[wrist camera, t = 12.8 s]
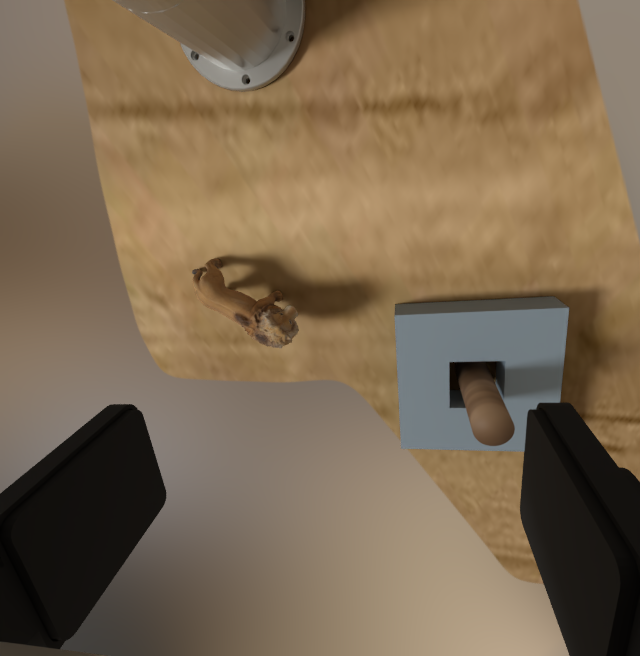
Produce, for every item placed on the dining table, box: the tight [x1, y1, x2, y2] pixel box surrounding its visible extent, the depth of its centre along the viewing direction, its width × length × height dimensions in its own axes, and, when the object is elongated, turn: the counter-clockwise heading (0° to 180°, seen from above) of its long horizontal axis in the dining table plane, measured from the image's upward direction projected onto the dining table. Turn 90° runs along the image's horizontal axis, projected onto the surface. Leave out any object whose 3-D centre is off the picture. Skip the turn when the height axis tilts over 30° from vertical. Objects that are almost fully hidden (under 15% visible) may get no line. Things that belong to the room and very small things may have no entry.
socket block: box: [395, 296, 569, 451], centre depth 44 cm, size 16×16×4 cm
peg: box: [455, 361, 515, 446], centre depth 40 cm, size 3×3×12 cm
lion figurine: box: [192, 259, 299, 348], centre depth 43 cm, size 15×5×9 cm, turn 72°
